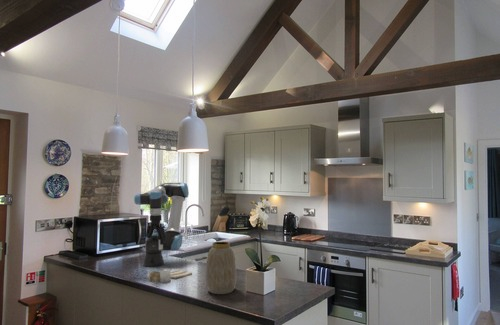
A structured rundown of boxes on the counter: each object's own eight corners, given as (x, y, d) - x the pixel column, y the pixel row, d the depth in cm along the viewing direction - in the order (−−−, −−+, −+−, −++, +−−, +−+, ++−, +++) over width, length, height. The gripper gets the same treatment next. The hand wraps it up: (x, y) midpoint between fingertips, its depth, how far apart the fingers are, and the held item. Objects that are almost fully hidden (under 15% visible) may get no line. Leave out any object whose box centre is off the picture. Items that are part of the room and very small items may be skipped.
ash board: (162, 276, 237) (162, 274, 237) (179, 271, 249) (179, 270, 249) (175, 279, 230) (175, 277, 230) (191, 274, 242) (191, 272, 242)
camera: (160, 247, 248) (160, 232, 248) (167, 249, 240) (168, 234, 241) (142, 250, 239) (142, 235, 239) (149, 252, 231) (149, 236, 232)
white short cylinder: (157, 281, 225) (157, 270, 225) (165, 279, 230) (165, 268, 231) (165, 283, 222) (165, 271, 222) (172, 281, 227) (172, 269, 227)
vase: (211, 297, 195) (211, 246, 196) (202, 288, 211) (202, 241, 212) (240, 293, 202) (240, 244, 203) (230, 285, 218) (230, 239, 219)
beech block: (149, 281, 227) (149, 273, 227) (154, 279, 232) (154, 271, 232) (156, 282, 225) (156, 273, 225) (160, 279, 230) (160, 271, 230)
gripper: (140, 214, 245) (139, 247, 244) (162, 216, 231) (162, 251, 230) (149, 213, 251) (149, 245, 250) (171, 215, 237) (171, 249, 236)
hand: (155, 248), depth 240 cm, fingers closed on camera, 10 cm apart
